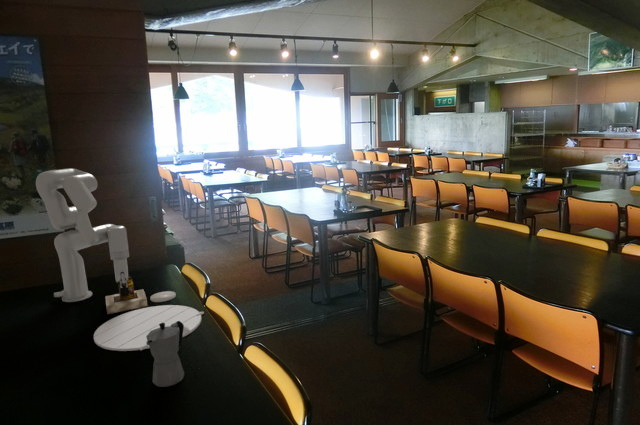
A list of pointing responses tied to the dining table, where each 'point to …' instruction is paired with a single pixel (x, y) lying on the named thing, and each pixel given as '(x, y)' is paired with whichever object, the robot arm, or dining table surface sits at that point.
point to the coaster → (163, 296)
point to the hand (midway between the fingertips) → (124, 293)
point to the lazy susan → (143, 326)
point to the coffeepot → (166, 354)
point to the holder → (125, 302)
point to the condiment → (130, 288)
